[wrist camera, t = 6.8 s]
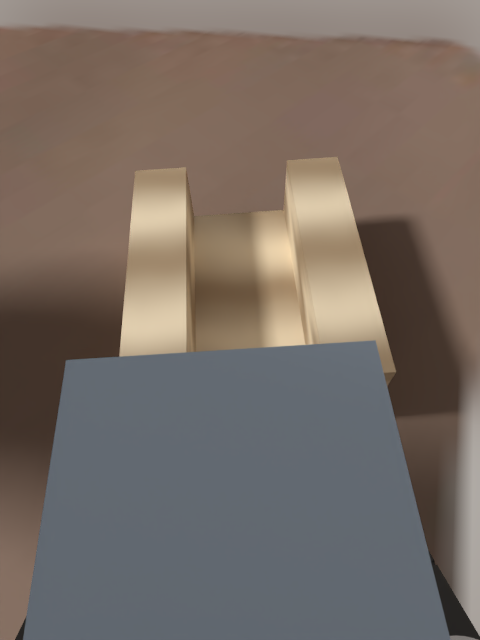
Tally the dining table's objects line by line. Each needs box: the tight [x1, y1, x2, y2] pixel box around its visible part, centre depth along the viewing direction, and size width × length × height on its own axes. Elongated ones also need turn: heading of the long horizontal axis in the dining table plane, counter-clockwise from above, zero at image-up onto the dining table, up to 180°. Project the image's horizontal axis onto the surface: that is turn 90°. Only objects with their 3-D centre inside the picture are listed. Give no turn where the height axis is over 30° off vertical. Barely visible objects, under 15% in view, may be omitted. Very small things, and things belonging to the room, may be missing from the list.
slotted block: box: [119, 157, 396, 386], centre depth 25 cm, size 14×13×6 cm
